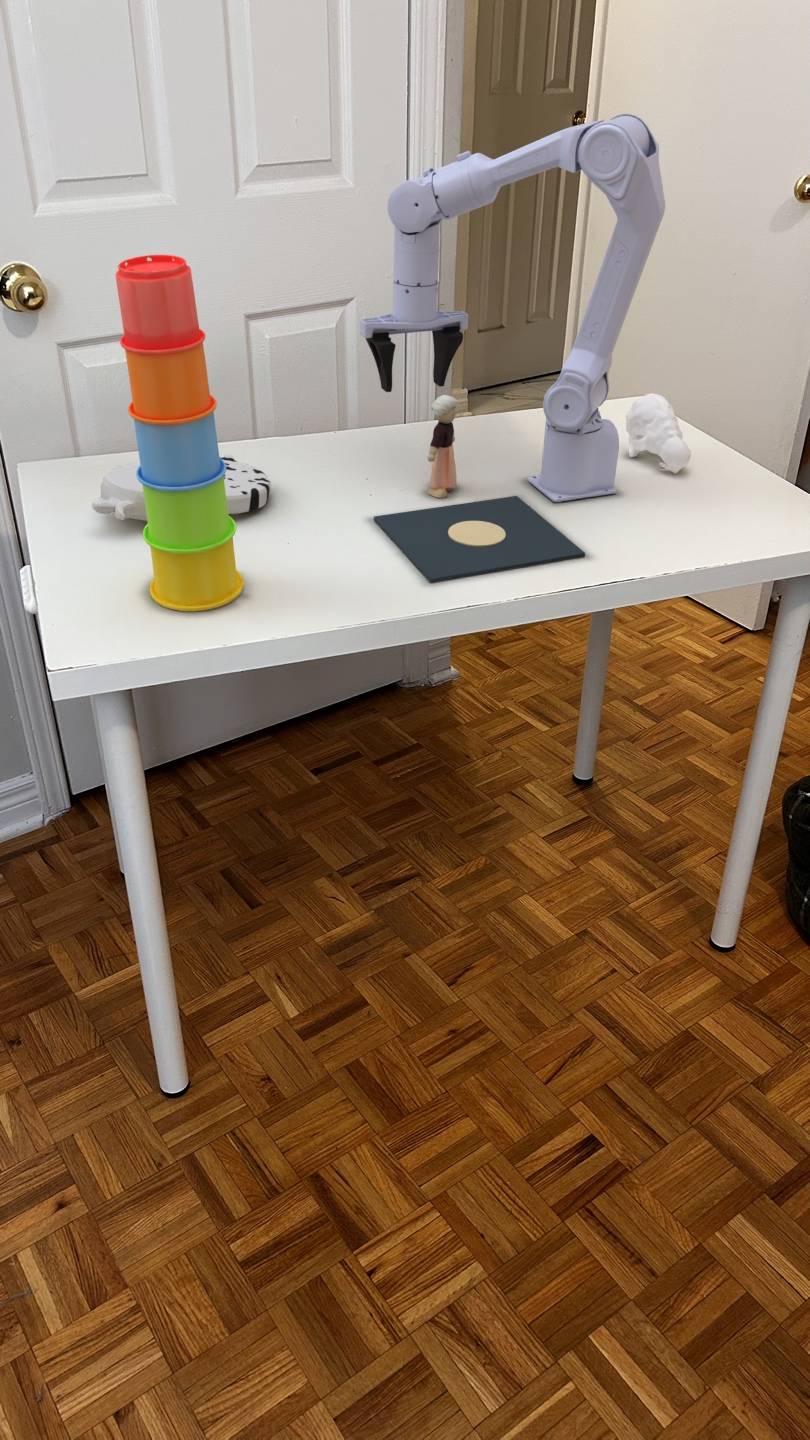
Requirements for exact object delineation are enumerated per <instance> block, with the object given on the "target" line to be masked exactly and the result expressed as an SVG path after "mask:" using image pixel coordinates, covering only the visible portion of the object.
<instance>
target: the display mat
mask: <svg viewBox="0 0 810 1440" xmlns="http://www.w3.org/2000/svg"><path fill="white" fill-rule="evenodd" d="M373 521H374V522H375V523H376V524H377V526H378V527H379V528H380V529H381V530H382V531H383V532H384V533H385V535H387V536H388V538H389V539H390V540H391V541H392V542H393V543H394V544H395V546H396V547H397V548H398V549H399V550H400V551H401V552H402V553H403V554H404V556H406V557H407V558H408V560H409V561H410V562H411V563H412V565H414V566H415V567H416V568H417V570H418V571H419V572H420V573H421V574H422V575H423V576H424V577H425V579H426V580H427V581H428V582H429V583H436V582H437V583H438V582H443V581H449V580H454V579H460V578H467V577H472V576H477V575H478V576H479V575H484V574H491V573H496V572H502V571H507V570H508V571H509V570H514V569H519V568H526V567H531V566H537V565H544V564H549V563H555V562H561V561H566V560H573V559H579V558H585V557H586V552H585V551H584V550H583V549H581V547H579V546H578V545H577V544H575V543H574V542H573V541H572V540H570V539H569V538H568V537H567V536H566V535H565V534H564V533H562V532H561V531H560V530H559V529H557V528H556V526H554V525H553V524H551V523H550V522H549V521H548V520H547V519H546V518H544V517H543V516H541V514H539V513H538V512H537V511H536V510H535V509H533V508H532V507H531V506H530V505H528V504H527V503H526V502H525V501H523V500H522V499H521V498H520V497H519V496H518V495H513V496H506V497H499V498H492V499H485V500H479V501H478V500H477V501H472V502H464V503H457V504H451V505H444V506H437V507H430V508H423V509H415V510H409V511H404V512H395V513H389V514H381V515H375V516H373Z"/></svg>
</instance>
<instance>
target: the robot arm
mask: <svg viewBox="0 0 810 1440" xmlns="http://www.w3.org/2000/svg"><path fill="white" fill-rule="evenodd" d="M456 159H457V160H455V161H453V162H451V163H449V164H447V165H444V166H442V167H439V168H437V169H434V167H428V168H426V169H424V170H422V176H418V177H415V178H413V179H408V180H403V181H402V182H401V183H400V184H398V185H397V186H396V187H395V188H394V189H393V190H392V191H391V193H390V194H389V197H388V200H387V213H388V217H389V220H390V221H391V223H392V224H393V226H394V232H393V233H394V234H393V235H394V236H393V237H394V239H393V282H392V283H393V284H392V285H393V286H392V287H393V291H392V313H388V314H383V315H379V316H374V317H370V318H369V317H367V318H360V319H359V335H360V336H361V337H363V338H364V339H365V341H366V343H367V345H368V347H369V350H370V352H371V354H372V356H373V359H374V362H375V365H376V368H377V372H378V376H379V377H378V378H379V381H380V388H381V389H382V390H383V391H384V392H385V393H392V390H393V364H394V358H395V357H394V356H395V350H396V346H397V344H396V343H394V342H393V341H392V337H390V335H400V334H412V333H425V332H431V333H432V334H431V335H432V342H433V368H432V369H433V371H432V377H433V383H434V384H435V385H437V386H438V387H444V386H445V383H446V381H447V380H446V379H447V375H448V372H449V369H450V367H451V363H452V361H453V359H454V357H455V355H456V353H457V351H458V349H459V348H460V346H461V345H462V343H463V342H464V341H463V340H464V333H463V332H462V330H468V328H469V313H467V312H465V311H463V310H456V311H455V310H453V311H451V310H450V311H449V310H448V311H447V310H443V311H442V310H438V292H439V290H438V288H439V265H440V229H441V222H442V221H443V220H445V221H446V220H447V221H448V220H451V219H453V218H456V217H460V216H461V215H464V214H467V213H469V212H472V211H474V210H477V209H480V208H482V207H485V206H487V205H491V204H492V203H494V202H495V200H496V199H497V196H498V193H499V192H500V189H501V188H502V187H504V186H507V185H509V184H512V183H515V182H518V181H520V180H523V179H527V178H529V177H532V176H534V175H538V174H540V173H543V172H546V171H549V170H552V169H555V168H560V169H563V170H565V171H567V172H568V173H569V172H570V173H572V174H577V173H579V172H581V171H582V172H583V174H584V175H585V177H586V178H588V180H589V181H590V182H591V183H592V185H594V186H595V187H597V189H599V190H600V192H602V193H603V194H604V195H605V196H606V198H607V200H608V202H609V204H610V206H611V208H612V209H613V211H614V213H615V215H616V219H617V220H616V222H615V226H614V228H613V232H612V233H611V237H610V240H609V244H608V246H607V248H606V251H605V255H604V257H603V260H602V263H601V266H600V269H599V272H598V274H597V277H596V280H595V283H594V285H593V288H592V291H591V295H590V298H589V301H588V302H587V306H586V309H585V312H584V315H583V317H582V321H581V324H580V326H579V328H578V332H577V335H576V337H575V341H574V344H573V347H572V349H571V351H570V353H569V355H568V356H567V359H565V362H564V364H563V366H562V368H561V371H560V373H559V376H558V378H557V380H556V381H555V382H554V383H553V384H552V385H551V386H550V387H548V389H547V390H546V393H545V394H544V397H543V402H542V409H543V413H544V416H545V425H544V435H543V436H544V437H543V447H542V455H541V466H540V474H539V475H533V476H528V477H527V482H529V483H530V484H531V485H532V486H533V487H535V488H536V489H537V490H539V492H541V493H542V494H544V495H545V497H547V498H549V499H550V500H551V501H552V502H554V503H557V502H558V503H559V502H560V503H561V502H566V501H573V500H579V499H587V498H593V497H599V496H606V495H612V494H616V493H617V488H615V482H616V481H615V480H616V473H617V466H618V458H619V451H620V438H619V431H618V429H617V426H616V425H615V424H614V423H613V421H611V420H610V419H607V418H602V415H601V412H600V410H599V407H601V406H602V405H603V404H604V403H605V401H606V399H607V398H608V396H609V391H610V382H609V372H610V369H611V366H612V365H613V364H612V363H613V352H614V349H615V347H616V344H617V341H618V340H619V339H618V338H619V336H620V333H621V330H622V328H623V326H624V322H625V320H626V318H627V314H628V311H629V309H630V306H631V304H632V301H633V298H634V296H635V293H636V290H637V287H638V284H639V283H640V279H641V277H642V274H643V272H644V268H645V266H646V263H647V261H648V258H649V255H650V253H651V250H652V248H653V245H654V242H655V239H656V236H657V235H658V231H659V228H660V226H661V223H662V221H663V217H664V215H665V211H666V199H665V193H664V192H665V191H664V187H663V179H662V174H661V173H662V172H661V166H660V146H659V143H658V141H657V139H656V138H655V136H654V134H653V133H652V131H651V129H650V128H649V125H648V124H647V122H646V121H644V119H643V118H641V117H640V116H638V115H636V114H633V113H621V114H620V113H619V114H618V115H615V116H613V117H612V118H610V119H609V120H605V119H599V120H594V121H590V122H585V123H581V124H577V125H574V126H570V127H566V128H563V129H561V130H558V131H556V132H554V133H551V134H549V135H546V136H544V137H542V138H540V139H538V140H536V141H532V142H531V143H528V144H526V145H523V146H522V147H520V148H517V149H515V150H513V151H510V152H508V153H506V154H504V155H501V156H498V157H497V158H491V157H489V156H487V155H485V154H483V153H481V152H476V153H474V154H471V151H470V150H467V151H464V152H462V153H459V154H457V155H456ZM460 330H461V331H460Z"/></svg>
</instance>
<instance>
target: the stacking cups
mask: <svg viewBox="0 0 810 1440" xmlns="http://www.w3.org/2000/svg"><path fill="white" fill-rule="evenodd" d="M148 258H149V259H150V260H148ZM117 269H118V270H117V271H116V273H115V281H116V286H117V287H116V288H117V294H118V295H117V296H118V301H119V308H120V317H121V321H122V329H123V335H122V336H121V338H120V340H119V344H120V347H121V348H122V349H124V352H125V358H126V359H125V360H126V364H127V365H126V366H127V371H128V379H129V386H130V392H131V400H132V401H131V402H130V404H129V405H128V407H127V412H128V415H129V416H130V417H131V418H132V419H133V424H134V430H135V437H136V443H137V451H138V459H139V464H140V466H139V468H138V469H137V472H136V476H137V479H138V481H139V482H140V483H141V484H142V486H143V492H144V499H145V506H146V514H147V521H146V522H147V524H146V525H145V526H144V527H143V530H142V536H143V537H142V538H143V540H144V542H145V543H146V544H147V545H148V546H149V548H150V554H151V563H152V569H153V579H152V580H151V581H150V584H149V594H150V597H151V598H152V599H153V601H155V603H157V604H158V605H160V606H162V607H164V608H167V609H170V610H174V611H181V612H200V611H201V612H202V611H208V610H213V609H216V608H219V607H222V606H224V605H227V604H229V603H231V602H233V601H234V600H236V598H238V597H239V596H240V595H241V593H242V592H243V589H244V587H245V582H244V580H245V579H244V577H243V575H242V574H241V573H240V571H238V570H237V566H236V564H237V563H236V557H235V547H234V546H235V545H234V536H235V534H236V532H237V524H236V522H235V519H233V518H232V517H231V516H230V515H229V514H228V508H227V500H226V492H225V483H224V474H225V472H226V464H225V462H224V461H223V460H222V459H221V458H222V457H220V452H219V443H218V436H217V435H218V434H217V428H216V420H215V414H214V413H215V412H214V411H215V410H216V408H217V406H218V404H217V400H216V398H215V397H214V396H213V395H211V392H210V386H209V385H210V384H209V379H208V377H209V376H208V370H207V363H206V355H205V347H204V341H205V340H206V333H205V331H203V330H202V329H201V328H200V324H199V318H198V310H197V303H196V296H195V295H196V294H195V289H194V282H193V275H192V269H191V266H189V265H188V264H187V260H186V259H185V258H184V257H182V256H177V255H172V254H147V255H141V256H134V257H131V258H126V259H124V260H123V261H121V262H119V264H118V265H117Z"/></svg>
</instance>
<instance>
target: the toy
mask: <svg viewBox="0 0 810 1440" xmlns="http://www.w3.org/2000/svg"><path fill="white" fill-rule="evenodd" d="M220 458H221V459H222V460H223V461H224V462H225V464H226V472H225V474H224V483H225V492H226V500H227V508H228V515H235V514H236V515H237V514H242V513H247V512H253V511H255V510H258V509H260V508H262V507H264V506H265V505H266V504H267V503H268V501H269V499H270V496H271V486H272V485H271V481H270V479H269V477H268V475H267V474H266V473H265V472H263V471H262V470H261V469H259V468H257V467H255V466H253V465H250V464H249V463H248V464H247V463H246V462H245V463H244V462H241V461H237V460H235V457H234V456H233V455H231V454H225V455H223V457H220ZM139 466H140V463H129V464H121V465H118V466H115V467H111V468H110V469H108V470H107V471H106V472H105V474H104V475H103V477H102V480H101V484H100V497H98V498H95V499H93V501H92V502H91V508H92V510H94V511H95V513H98V514H101V515H107V514H110V513H114V517H115V518H116V520H121V521H124V520H126V519H131V520H134V521H141V522H148V521H147V514H146V506H145V499H144V492H143V486H142V484H141V483H140V482H139V481H138V479H137V476H136V472H137V469H138V468H139Z"/></svg>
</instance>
